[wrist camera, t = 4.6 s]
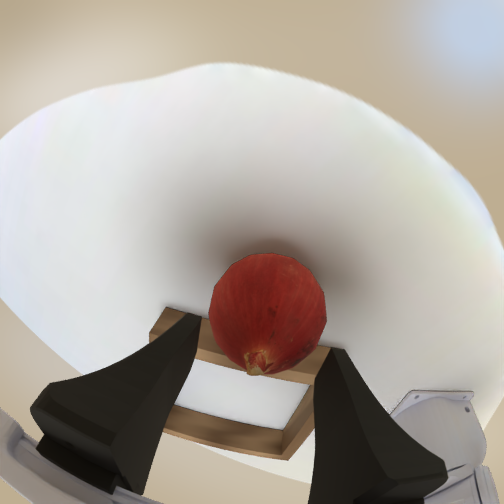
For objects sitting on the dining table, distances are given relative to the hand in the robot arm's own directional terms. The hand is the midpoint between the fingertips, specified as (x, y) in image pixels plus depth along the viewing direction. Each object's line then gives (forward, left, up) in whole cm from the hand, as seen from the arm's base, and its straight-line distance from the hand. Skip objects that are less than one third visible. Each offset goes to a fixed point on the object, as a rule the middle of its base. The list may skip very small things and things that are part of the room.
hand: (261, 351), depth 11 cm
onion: (0, 0, -7) cm, 7 cm away
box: (0, +11, -7) cm, 13 cm away
